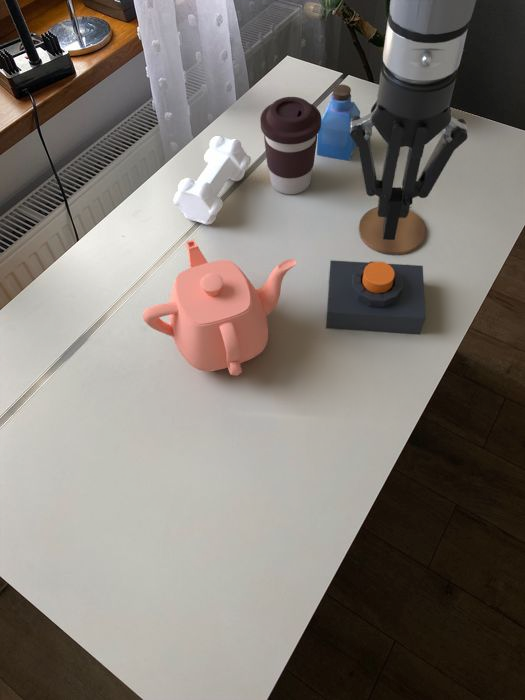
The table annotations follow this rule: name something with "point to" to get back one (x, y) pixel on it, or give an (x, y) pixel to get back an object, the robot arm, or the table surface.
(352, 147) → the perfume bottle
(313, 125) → the coffee cup
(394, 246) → the coaster
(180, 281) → the teapot
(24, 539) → the table surface
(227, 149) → the bone shaped toy
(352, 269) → the push button box
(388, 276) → the orange push button
